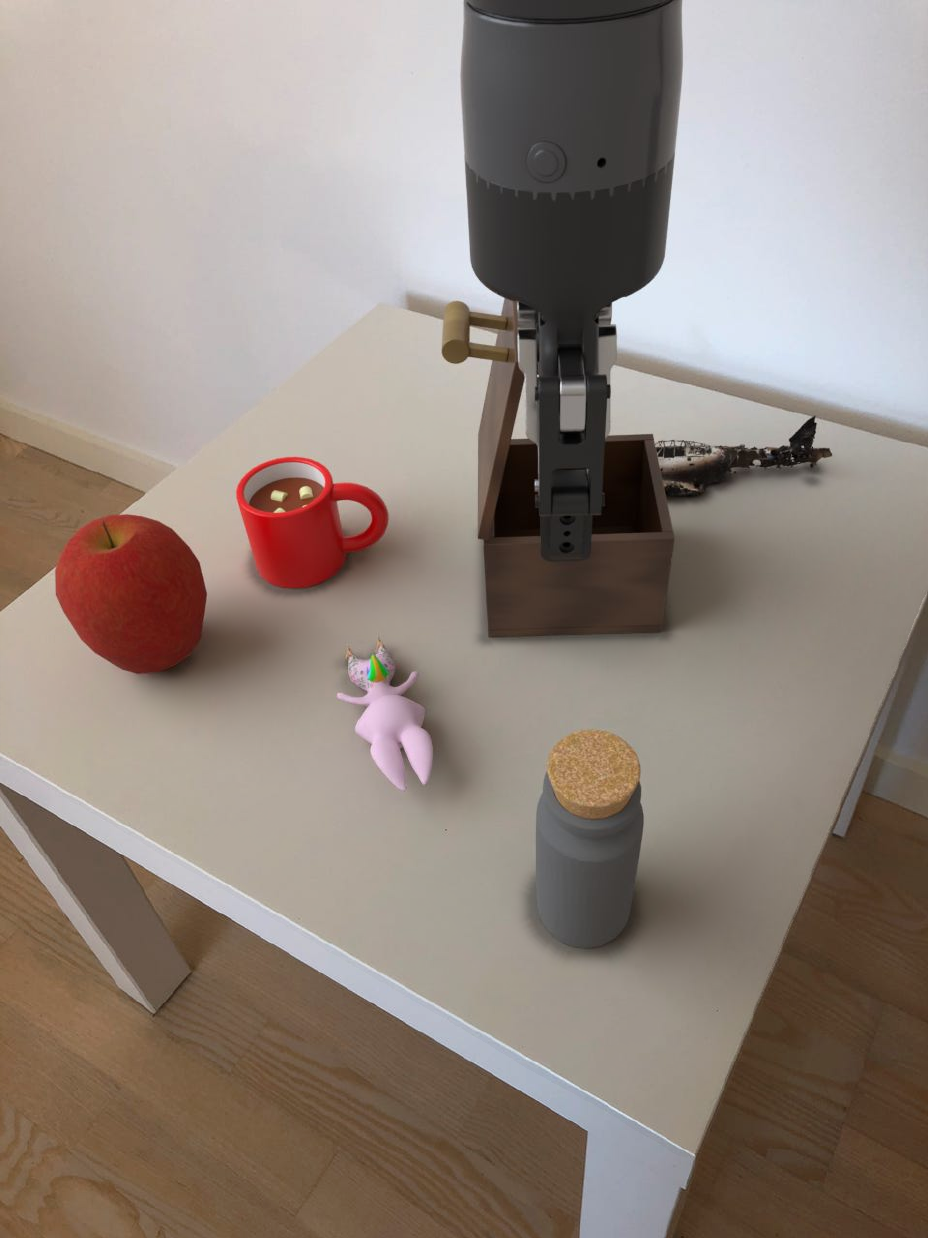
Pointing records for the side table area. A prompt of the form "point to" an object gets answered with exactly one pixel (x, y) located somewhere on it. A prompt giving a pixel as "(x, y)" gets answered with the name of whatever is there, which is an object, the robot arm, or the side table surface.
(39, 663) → the side table surface
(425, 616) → the side table surface
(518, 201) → the robot arm
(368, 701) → the pink creature figurine
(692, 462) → the airplane wreck
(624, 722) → the side table surface
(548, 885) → the bottle
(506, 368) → the lid
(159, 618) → the apple
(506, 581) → the chest
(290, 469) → the mug
